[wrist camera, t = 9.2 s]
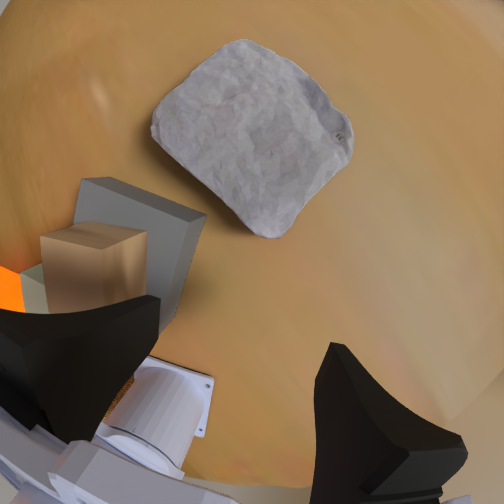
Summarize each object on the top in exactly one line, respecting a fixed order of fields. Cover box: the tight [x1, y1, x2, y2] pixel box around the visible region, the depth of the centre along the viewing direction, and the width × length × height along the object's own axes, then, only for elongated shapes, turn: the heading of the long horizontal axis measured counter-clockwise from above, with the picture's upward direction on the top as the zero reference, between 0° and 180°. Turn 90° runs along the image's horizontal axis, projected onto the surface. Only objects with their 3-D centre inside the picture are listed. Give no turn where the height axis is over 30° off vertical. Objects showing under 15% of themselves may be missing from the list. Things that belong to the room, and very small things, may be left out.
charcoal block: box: [73, 177, 207, 334], centre depth 20 cm, size 9×9×4 cm
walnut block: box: [40, 221, 148, 314], centre depth 16 cm, size 5×5×5 cm
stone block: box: [150, 39, 354, 239], centre depth 17 cm, size 12×5×10 cm
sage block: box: [20, 263, 52, 314], centre depth 22 cm, size 5×5×5 cm
